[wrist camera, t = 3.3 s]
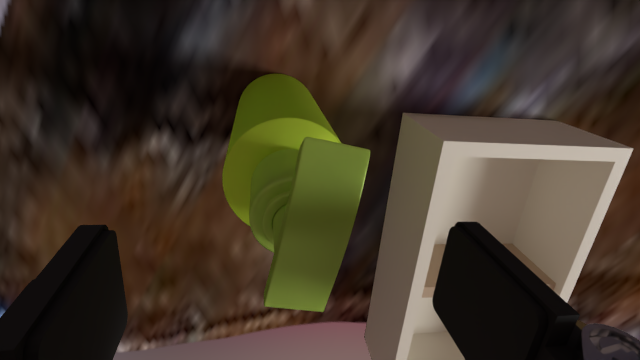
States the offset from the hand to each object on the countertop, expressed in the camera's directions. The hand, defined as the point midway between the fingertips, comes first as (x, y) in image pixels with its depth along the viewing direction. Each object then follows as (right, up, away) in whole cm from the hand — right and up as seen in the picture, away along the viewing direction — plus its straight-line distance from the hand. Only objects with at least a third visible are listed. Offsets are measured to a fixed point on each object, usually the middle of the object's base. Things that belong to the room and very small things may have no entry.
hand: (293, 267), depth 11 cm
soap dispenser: (-2, +8, +18) cm, 20 cm away
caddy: (+13, -3, +26) cm, 29 cm away
